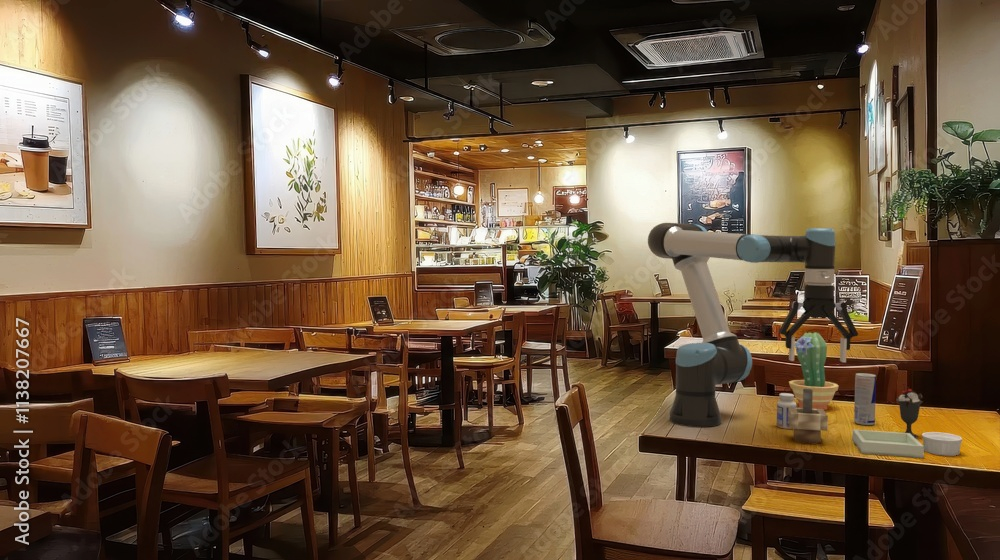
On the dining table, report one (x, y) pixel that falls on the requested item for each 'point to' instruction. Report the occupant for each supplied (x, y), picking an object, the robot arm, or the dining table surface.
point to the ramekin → (941, 443)
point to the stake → (805, 434)
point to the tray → (888, 443)
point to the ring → (807, 419)
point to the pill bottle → (784, 409)
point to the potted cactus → (813, 371)
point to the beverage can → (865, 399)
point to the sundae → (909, 408)
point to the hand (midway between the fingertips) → (817, 361)
